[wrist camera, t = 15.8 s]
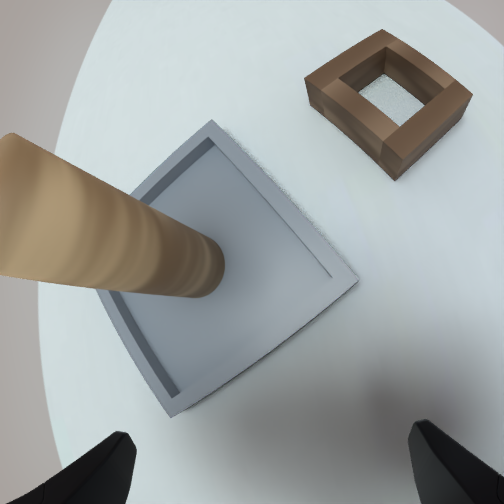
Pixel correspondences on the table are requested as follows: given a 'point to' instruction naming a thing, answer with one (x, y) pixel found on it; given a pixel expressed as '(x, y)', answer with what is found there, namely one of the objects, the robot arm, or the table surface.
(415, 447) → the robot arm
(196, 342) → the plastic tray
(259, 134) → the table surface
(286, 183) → the table surface
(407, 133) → the walnut holder
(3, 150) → the oak dowel
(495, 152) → the table surface
